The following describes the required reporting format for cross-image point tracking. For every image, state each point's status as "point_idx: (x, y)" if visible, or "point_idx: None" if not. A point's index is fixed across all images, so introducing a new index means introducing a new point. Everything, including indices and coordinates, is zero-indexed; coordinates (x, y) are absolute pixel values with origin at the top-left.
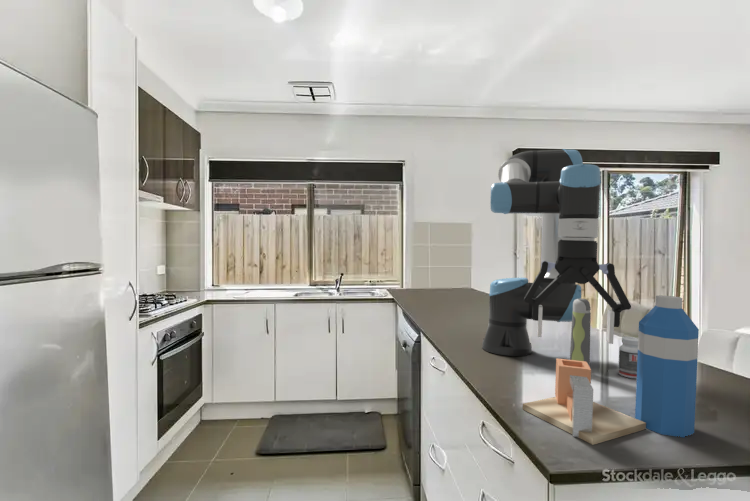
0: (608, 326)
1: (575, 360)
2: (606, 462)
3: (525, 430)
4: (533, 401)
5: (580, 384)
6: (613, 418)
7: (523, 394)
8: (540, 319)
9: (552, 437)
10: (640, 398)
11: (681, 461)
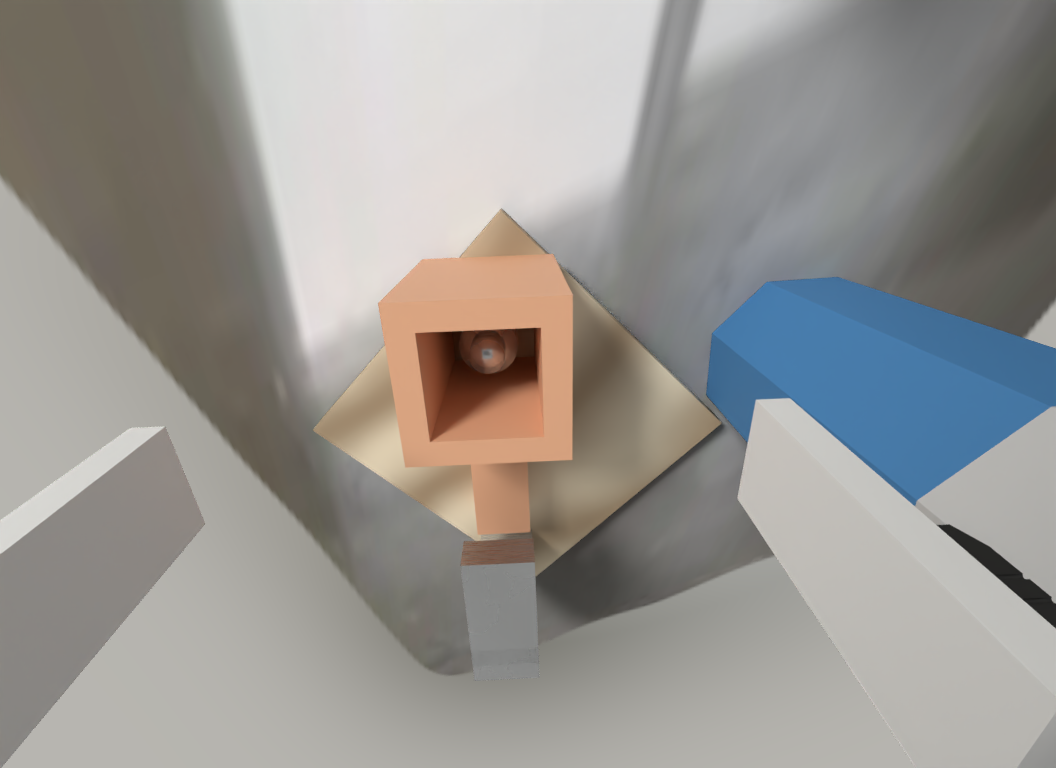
0: (828, 567)
1: (503, 302)
2: (549, 623)
3: (359, 556)
4: (346, 392)
5: (497, 650)
6: (621, 432)
7: (288, 251)
8: (54, 682)
9: (432, 565)
10: (749, 426)
11: (723, 561)
